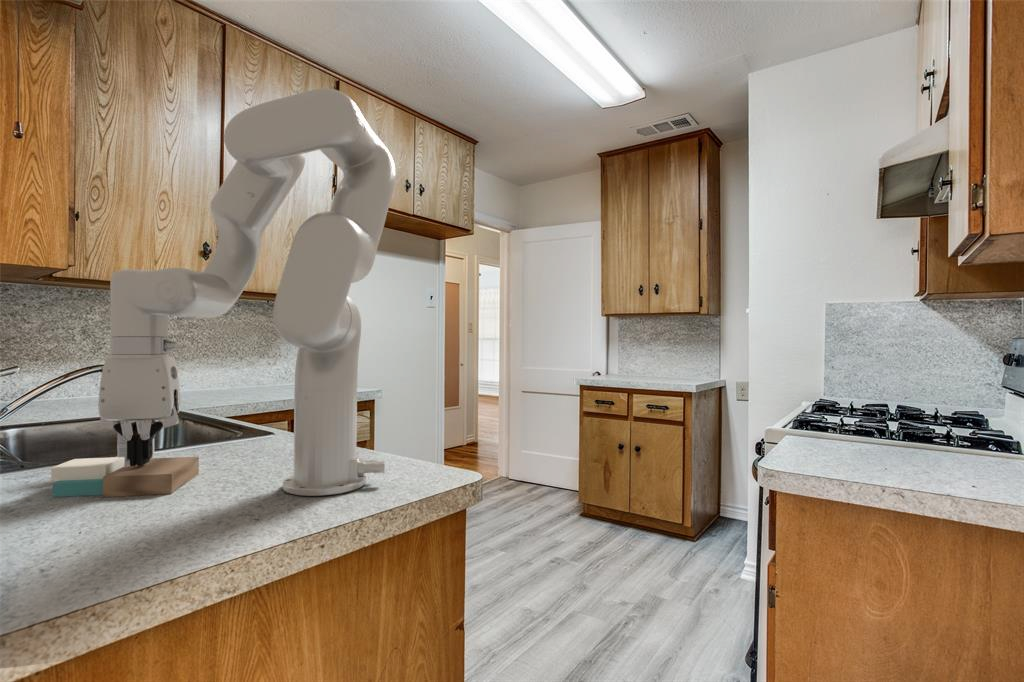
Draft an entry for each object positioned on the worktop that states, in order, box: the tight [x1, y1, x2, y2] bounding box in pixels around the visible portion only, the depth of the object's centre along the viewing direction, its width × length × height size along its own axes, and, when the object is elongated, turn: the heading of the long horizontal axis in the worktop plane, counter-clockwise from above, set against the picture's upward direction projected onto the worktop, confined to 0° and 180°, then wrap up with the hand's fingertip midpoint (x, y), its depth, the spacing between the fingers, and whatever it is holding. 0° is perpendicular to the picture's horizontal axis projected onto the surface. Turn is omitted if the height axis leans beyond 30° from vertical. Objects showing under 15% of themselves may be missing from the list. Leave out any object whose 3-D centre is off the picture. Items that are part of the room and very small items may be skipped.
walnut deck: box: [102, 456, 200, 498], centre depth 84 cm, size 9×12×3 cm
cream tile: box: [50, 456, 125, 482], centre depth 82 cm, size 7×6×2 cm
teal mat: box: [52, 479, 103, 498], centre depth 82 cm, size 7×9×2 cm
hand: (139, 463), depth 84 cm, fingers closed
